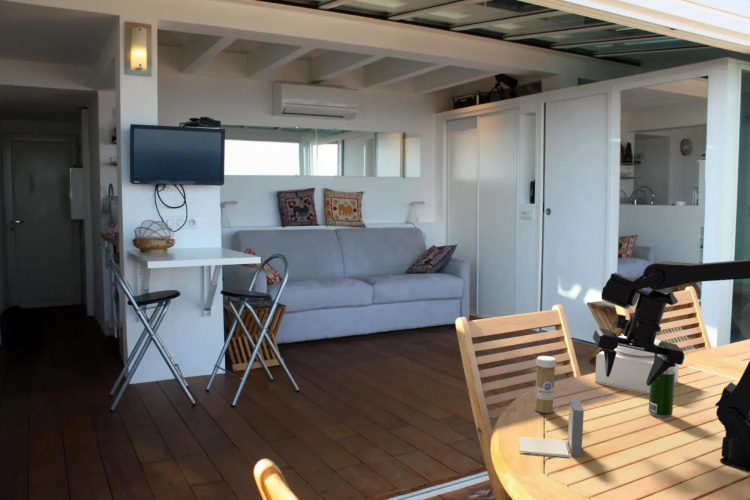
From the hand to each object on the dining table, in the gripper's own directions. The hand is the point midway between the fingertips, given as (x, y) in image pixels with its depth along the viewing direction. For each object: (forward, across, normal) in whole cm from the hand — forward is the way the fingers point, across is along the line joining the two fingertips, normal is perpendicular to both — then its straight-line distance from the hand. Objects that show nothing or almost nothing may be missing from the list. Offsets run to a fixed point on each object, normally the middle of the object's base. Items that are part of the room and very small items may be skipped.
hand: (627, 380), depth 153 cm
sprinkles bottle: (+17, +13, -11) cm, 24 cm away
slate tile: (+13, +11, +13) cm, 22 cm away
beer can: (+12, -15, -12) cm, 22 cm away
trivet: (+14, +18, +12) cm, 26 cm away
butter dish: (+15, -18, -38) cm, 45 cm away
